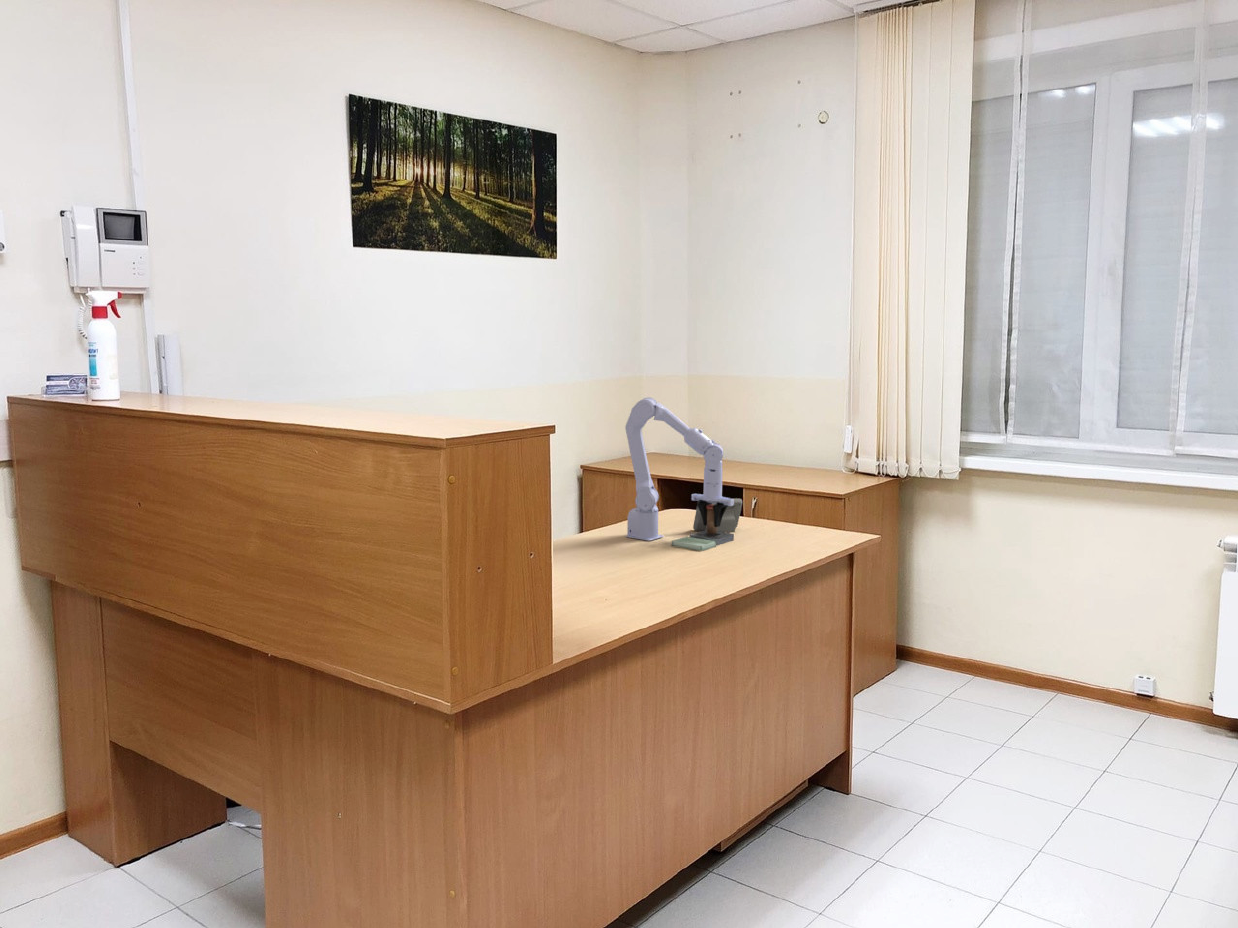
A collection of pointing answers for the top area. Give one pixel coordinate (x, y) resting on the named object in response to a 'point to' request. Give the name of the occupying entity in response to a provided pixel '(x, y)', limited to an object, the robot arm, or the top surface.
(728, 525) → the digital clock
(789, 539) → the top surface
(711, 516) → the pin
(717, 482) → the robot arm
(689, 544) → the tray
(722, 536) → the socket plate
